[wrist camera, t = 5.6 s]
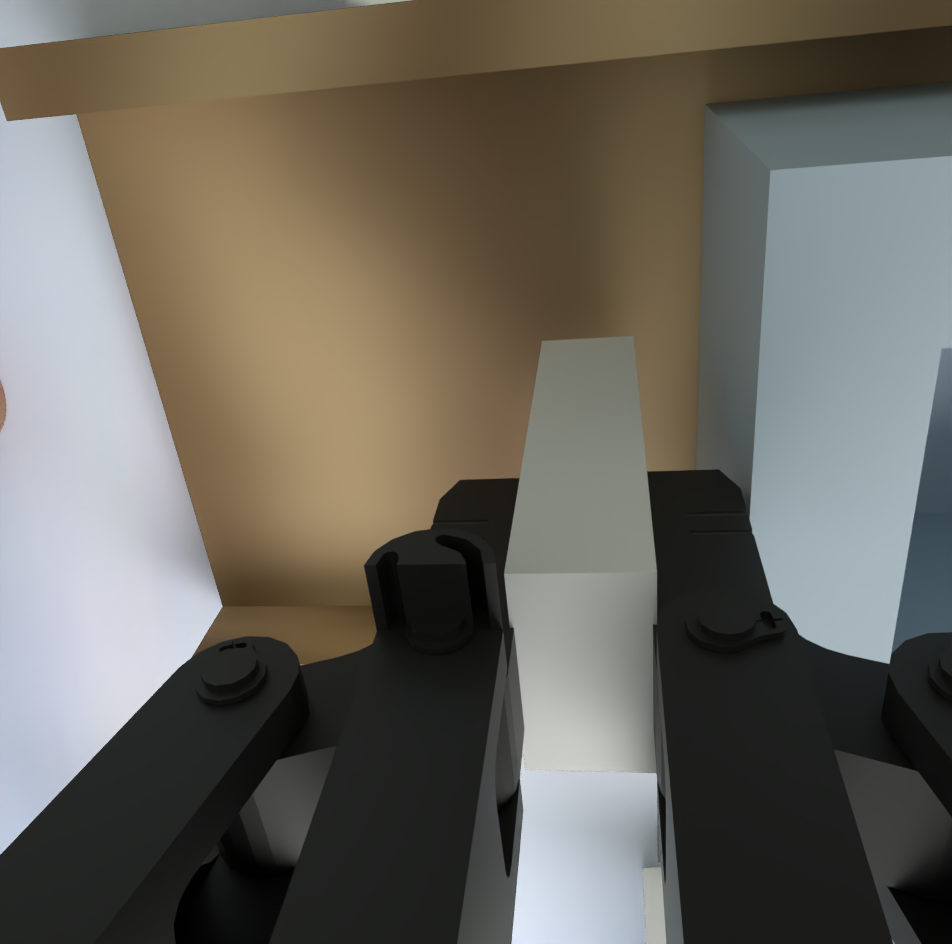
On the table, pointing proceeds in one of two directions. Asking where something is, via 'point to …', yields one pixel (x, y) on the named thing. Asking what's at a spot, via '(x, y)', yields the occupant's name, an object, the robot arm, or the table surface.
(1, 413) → the dowel
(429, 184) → the tray
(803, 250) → the block
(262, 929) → the robot arm
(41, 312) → the table surface
